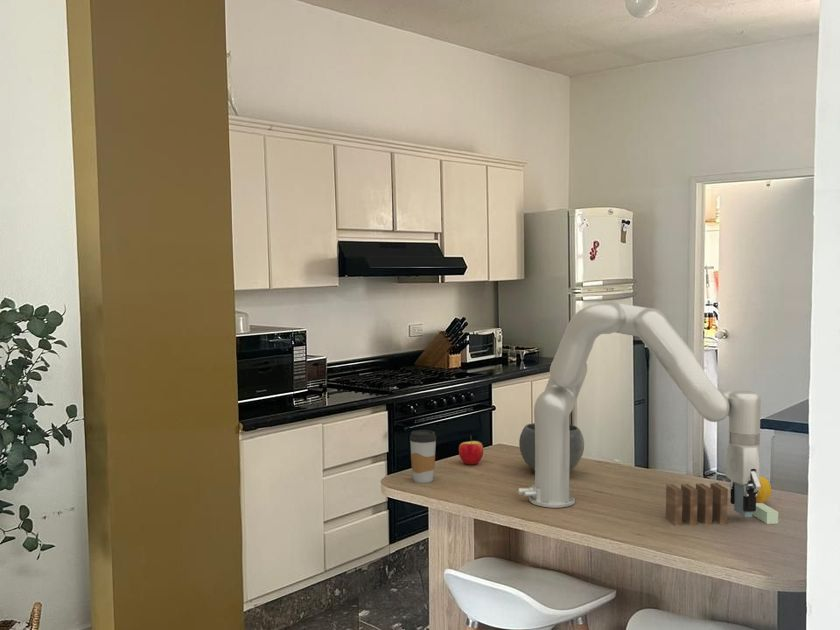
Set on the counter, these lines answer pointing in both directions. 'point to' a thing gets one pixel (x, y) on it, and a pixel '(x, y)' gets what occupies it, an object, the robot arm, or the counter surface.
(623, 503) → the counter surface
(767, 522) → the block
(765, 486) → the fruit
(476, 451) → the apple
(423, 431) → the coffee cup
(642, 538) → the counter surface
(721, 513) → the domino
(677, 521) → the domino
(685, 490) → the domino
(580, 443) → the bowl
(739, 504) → the domino
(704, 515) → the domino
